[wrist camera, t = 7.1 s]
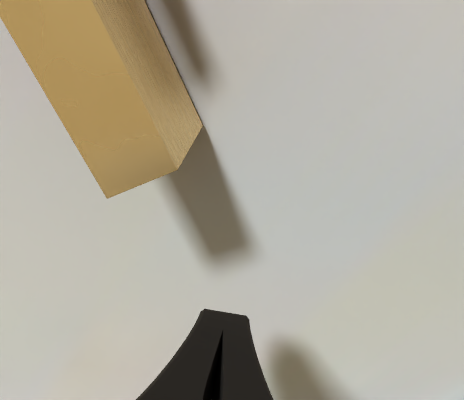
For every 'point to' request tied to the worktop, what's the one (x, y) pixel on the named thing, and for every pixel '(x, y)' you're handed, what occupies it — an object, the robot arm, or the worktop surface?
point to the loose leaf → (108, 85)
